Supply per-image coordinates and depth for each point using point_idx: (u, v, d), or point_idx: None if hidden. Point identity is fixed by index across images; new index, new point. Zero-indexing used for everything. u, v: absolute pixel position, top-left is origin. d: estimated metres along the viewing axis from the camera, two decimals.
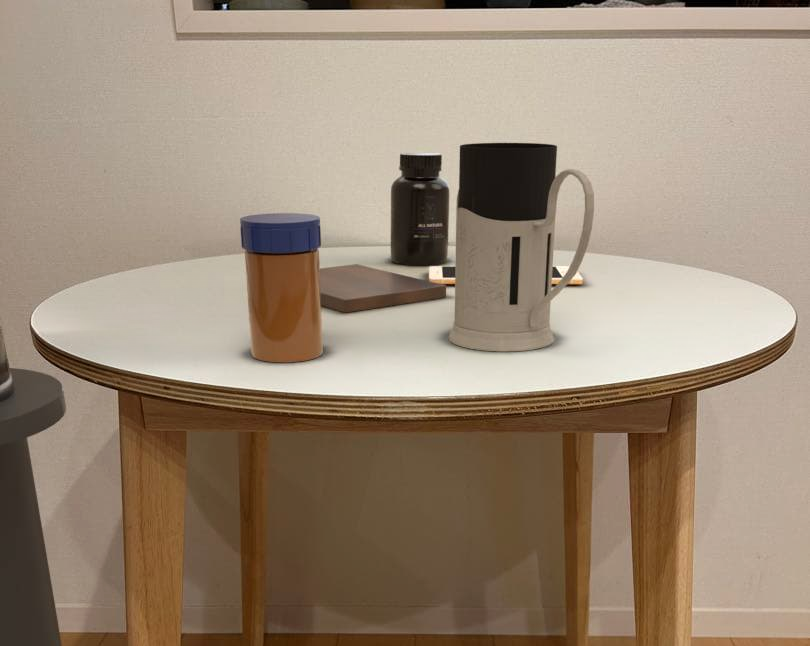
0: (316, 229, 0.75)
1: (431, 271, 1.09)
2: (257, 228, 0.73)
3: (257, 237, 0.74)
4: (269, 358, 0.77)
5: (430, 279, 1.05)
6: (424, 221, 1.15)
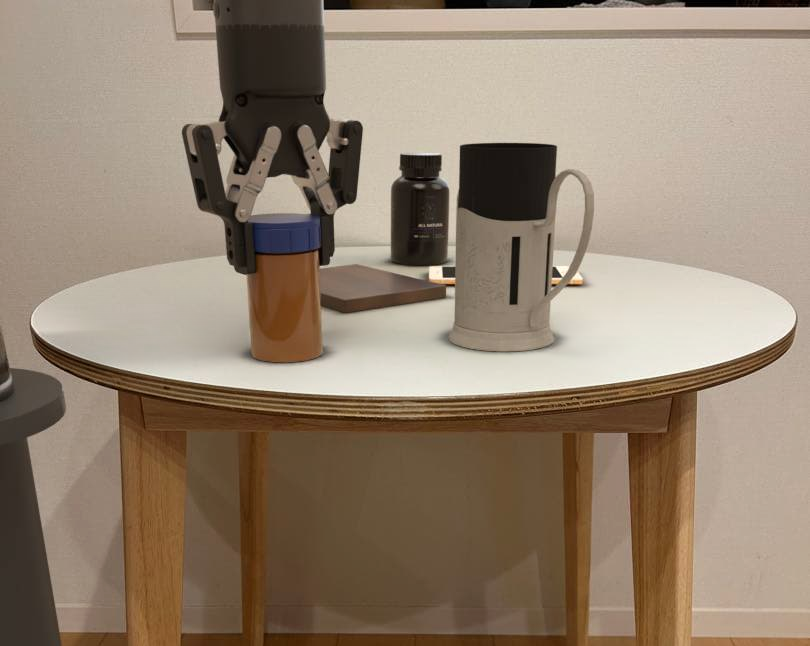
0: (316, 229, 0.75)
1: (431, 271, 1.09)
2: (257, 228, 0.73)
3: (257, 237, 0.74)
4: (269, 358, 0.77)
5: (430, 279, 1.05)
6: (424, 221, 1.15)
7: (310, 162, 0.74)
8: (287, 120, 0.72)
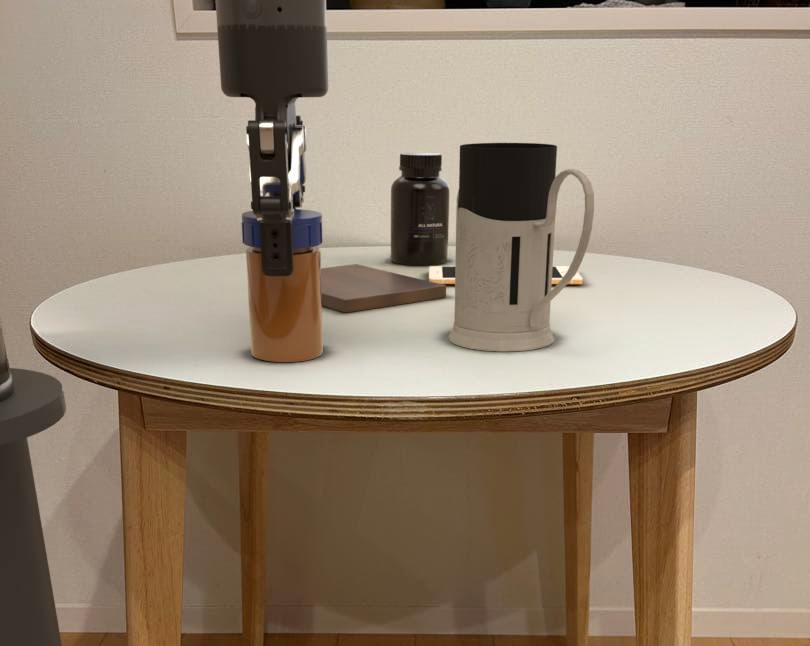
0: None
1: (431, 271, 1.09)
2: (314, 223, 0.74)
3: (314, 232, 0.74)
4: (269, 357, 0.77)
5: (430, 279, 1.05)
6: (424, 221, 1.15)
7: (303, 162, 0.75)
8: (292, 121, 0.72)
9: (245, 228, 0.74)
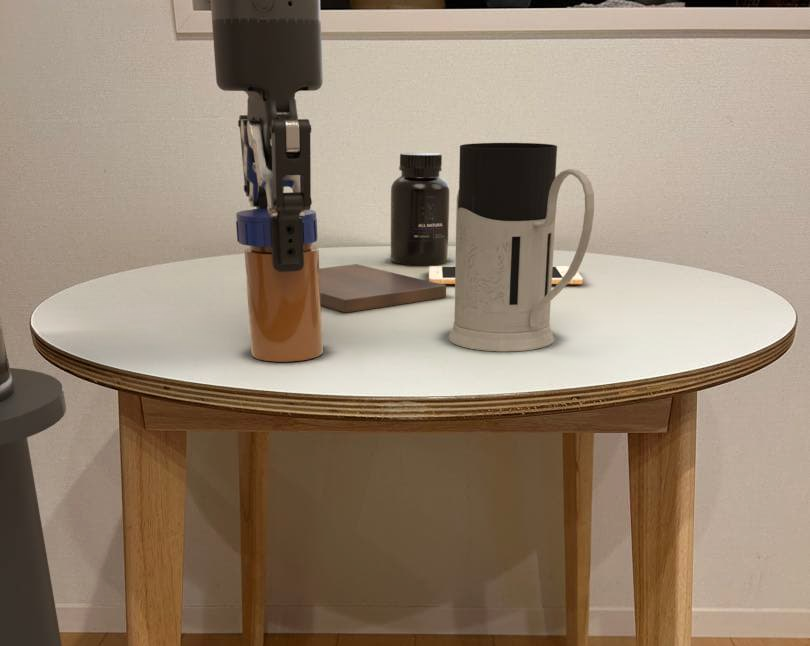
0: None
1: (431, 271, 1.09)
2: None
3: None
4: (269, 357, 0.77)
5: (430, 279, 1.05)
6: (424, 221, 1.15)
7: None
8: None
9: (270, 229, 0.73)
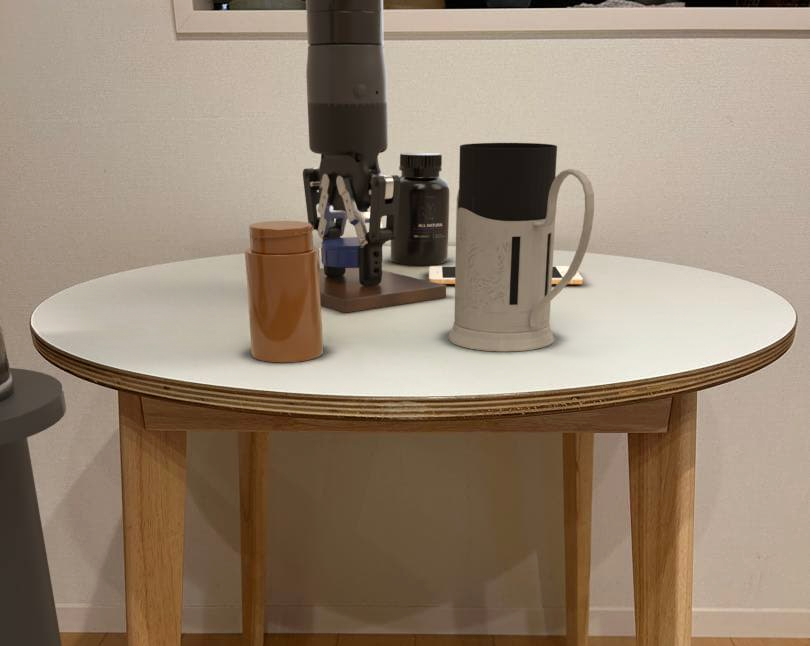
0: None
1: (431, 271, 1.09)
2: None
3: None
4: (269, 358, 0.77)
5: (430, 279, 1.05)
6: (424, 221, 1.15)
7: None
8: None
9: (358, 254, 0.98)
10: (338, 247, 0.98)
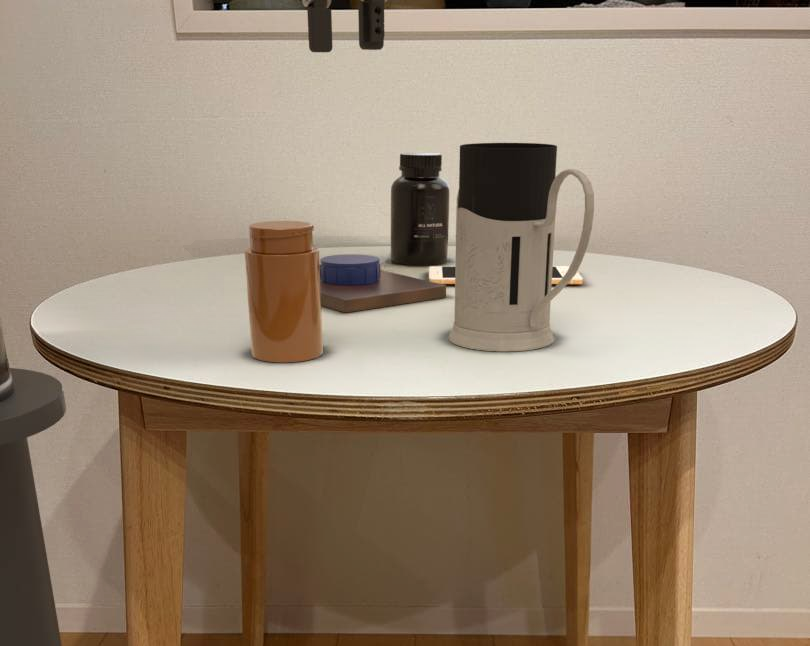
0: None
1: (431, 271, 1.09)
2: None
3: None
4: (269, 358, 0.77)
5: (430, 279, 1.05)
6: (424, 221, 1.15)
7: None
8: None
9: (356, 272, 0.99)
10: (337, 265, 0.99)
